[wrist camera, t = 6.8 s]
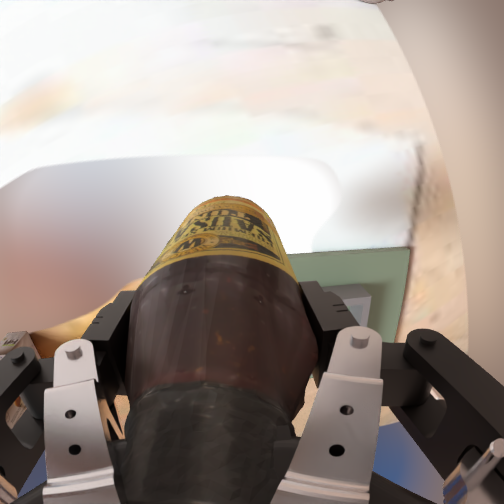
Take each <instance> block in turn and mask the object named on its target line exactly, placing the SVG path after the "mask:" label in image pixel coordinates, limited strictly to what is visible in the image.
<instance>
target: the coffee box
mask: <svg viewBox="0 0 504 504" xmlns="http://www.w3.org/2000/svg"><path fill="white" fill-rule="evenodd" d="M19 347H31V348H32V349H34V351H35V353H36V355H37V358H38V359H41V357H40V355H39V353H38V351H37V350H36V348H35V346H34V344H33V342H32V340H31V338H30V336H29V334H28V332H27V331H23V332H12V333H7V335H6V336H5V337H4V338H3V339H2V341H1V342H0V360H1V359H2V358H3V357H4V356H5V355H6V354H7V353H9V352H10V351H12V350H13V349H16V348H19ZM25 410H26V406H25V404H24V403H23V401H22V399H21V398H20V396H19V397H18V398H17V399H16V400H15V402H14V403H13V404H12V405H11V406H10V408H9V409H8V410H7V412H6V423H7V425H8V426H9V428H10V429H12V428H13V426H14V425H15V424H16V422H17V421H18V420H19V418H20V417H21V416H22V414H23V413H24V411H25Z"/></svg>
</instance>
